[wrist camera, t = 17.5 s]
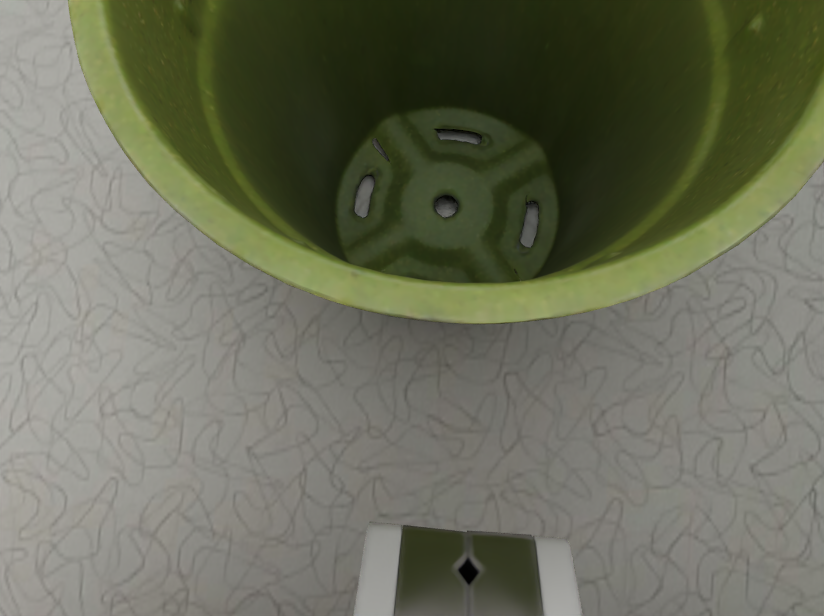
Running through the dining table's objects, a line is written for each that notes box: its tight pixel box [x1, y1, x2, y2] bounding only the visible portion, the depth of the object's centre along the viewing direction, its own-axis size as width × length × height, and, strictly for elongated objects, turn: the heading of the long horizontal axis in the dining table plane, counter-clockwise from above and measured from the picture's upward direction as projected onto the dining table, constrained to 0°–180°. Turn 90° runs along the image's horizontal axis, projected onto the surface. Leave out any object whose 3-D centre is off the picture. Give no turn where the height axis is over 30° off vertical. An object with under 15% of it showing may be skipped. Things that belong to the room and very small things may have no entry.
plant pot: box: [68, 0, 824, 324], centre depth 14 cm, size 12×12×11 cm
